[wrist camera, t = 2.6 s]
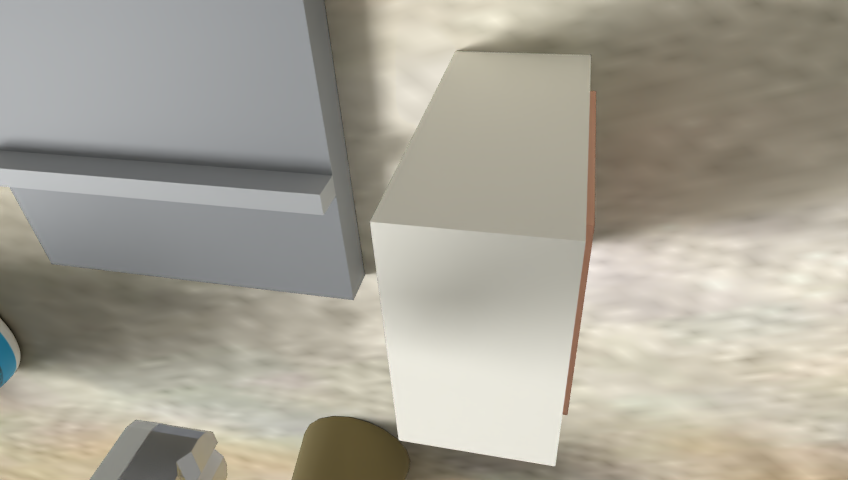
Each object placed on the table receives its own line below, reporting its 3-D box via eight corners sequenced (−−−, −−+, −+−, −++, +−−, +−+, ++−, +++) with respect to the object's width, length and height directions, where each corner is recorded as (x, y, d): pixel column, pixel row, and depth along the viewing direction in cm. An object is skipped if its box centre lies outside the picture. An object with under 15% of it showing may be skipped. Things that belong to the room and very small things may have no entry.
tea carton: (598, 54, 18) (597, 242, 11) (575, 245, 22) (563, 467, 15) (455, 51, 19) (369, 221, 12) (459, 234, 23) (399, 440, 16)
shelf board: (311, -82, 17) (272, -61, 15) (364, 275, 25) (343, 321, 23) (-88, -75, 20) (-167, -56, 18) (74, 243, 28) (32, 281, 26)
